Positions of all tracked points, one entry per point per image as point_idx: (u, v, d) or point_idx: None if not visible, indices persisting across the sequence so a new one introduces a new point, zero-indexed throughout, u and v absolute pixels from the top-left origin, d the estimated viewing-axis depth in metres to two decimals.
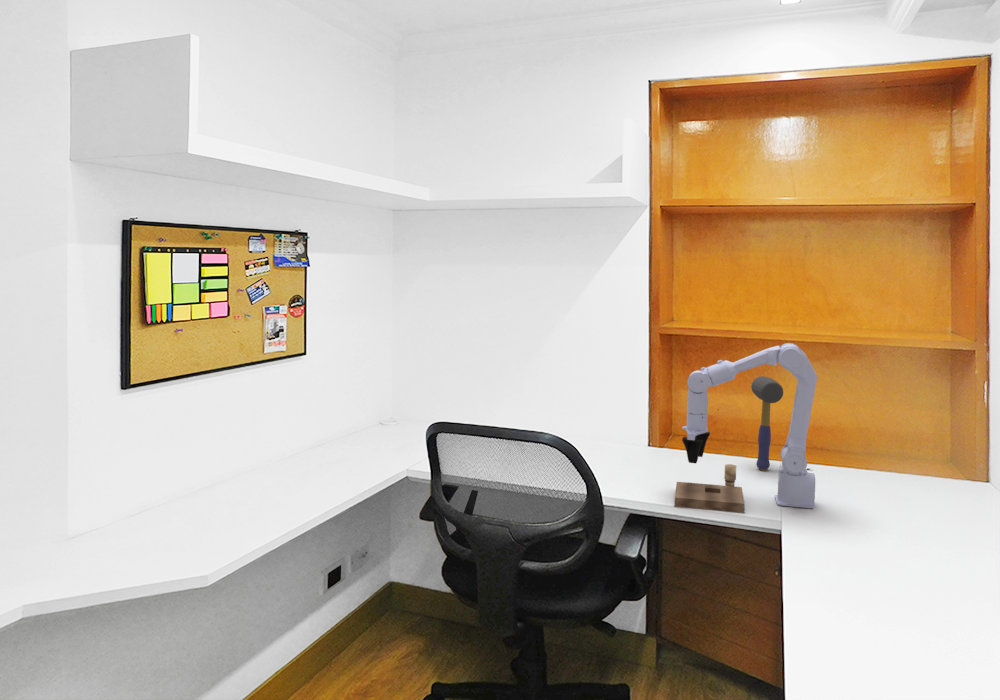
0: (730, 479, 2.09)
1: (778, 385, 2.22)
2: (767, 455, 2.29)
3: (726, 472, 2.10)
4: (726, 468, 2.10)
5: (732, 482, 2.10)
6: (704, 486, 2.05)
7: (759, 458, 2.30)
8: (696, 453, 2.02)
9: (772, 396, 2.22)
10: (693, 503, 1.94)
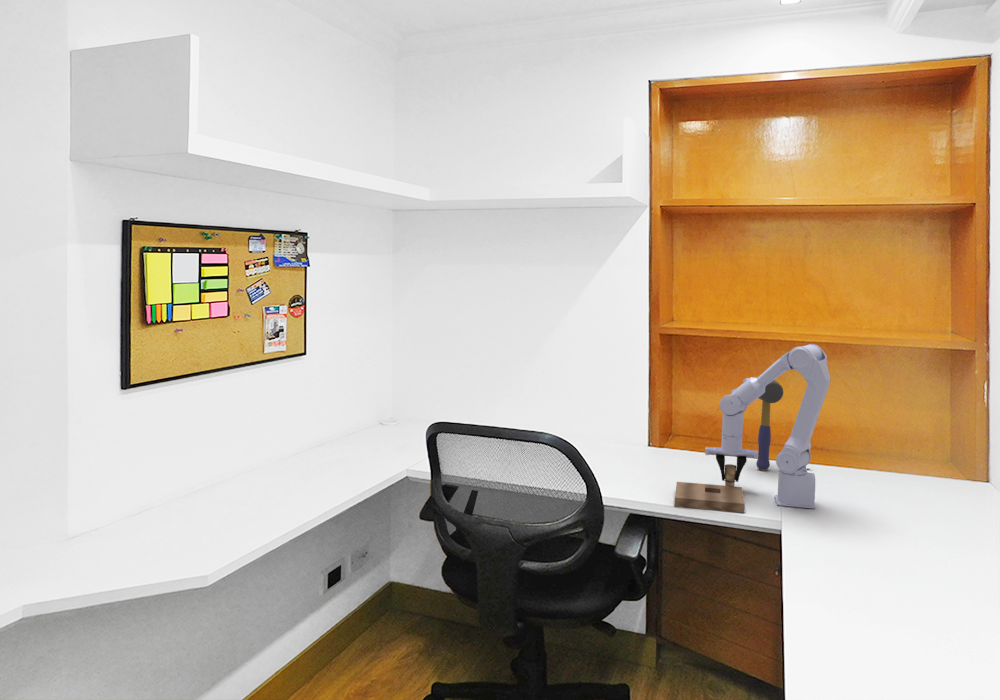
0: (730, 479, 2.09)
1: (778, 385, 2.22)
2: (767, 455, 2.29)
3: (726, 472, 2.10)
4: (726, 468, 2.10)
5: (732, 482, 2.10)
6: (704, 486, 2.05)
7: (759, 458, 2.30)
8: None
9: (772, 396, 2.22)
10: (693, 503, 1.94)
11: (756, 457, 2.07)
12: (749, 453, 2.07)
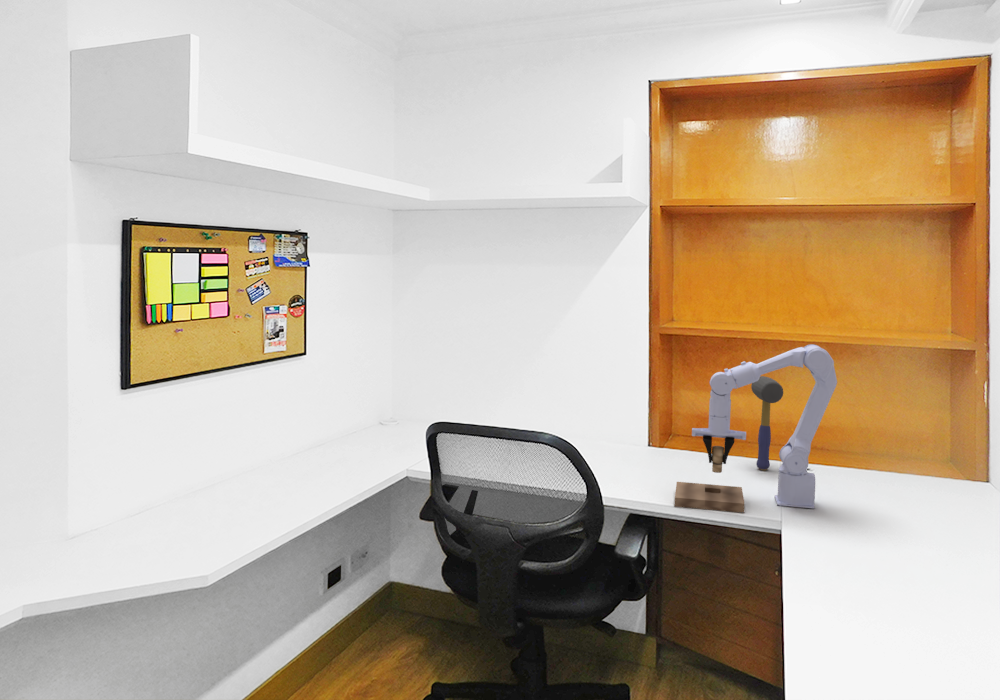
0: (717, 460, 2.02)
1: (778, 385, 2.22)
2: (767, 455, 2.29)
3: (713, 454, 2.02)
4: (713, 449, 2.02)
5: (719, 464, 2.02)
6: (704, 486, 2.05)
7: (759, 458, 2.30)
8: None
9: (772, 396, 2.22)
10: (693, 503, 1.94)
11: (744, 438, 1.99)
12: (737, 434, 1.99)
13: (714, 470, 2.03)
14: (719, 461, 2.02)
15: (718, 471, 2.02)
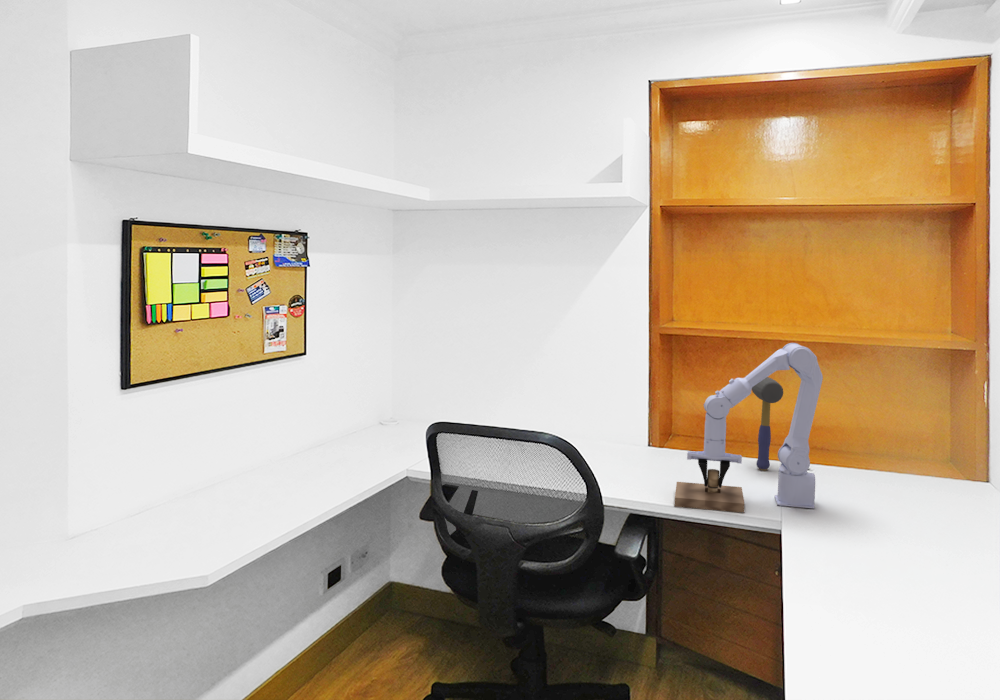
0: (712, 484, 2.00)
1: (778, 385, 2.22)
2: (767, 455, 2.29)
3: (708, 477, 2.01)
4: (708, 473, 2.01)
5: (715, 488, 2.01)
6: (704, 486, 2.05)
7: (759, 458, 2.30)
8: None
9: (772, 396, 2.22)
10: (693, 503, 1.94)
11: (740, 462, 1.98)
12: (732, 457, 1.98)
13: None
14: (714, 485, 2.00)
15: None
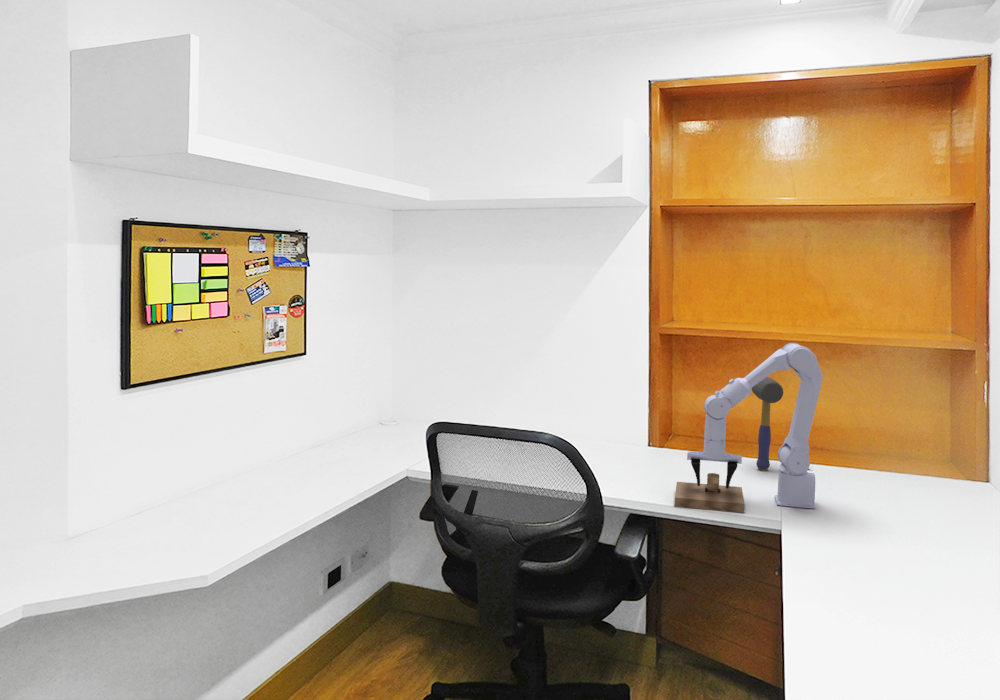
0: (712, 488, 2.00)
1: (778, 385, 2.22)
2: (767, 455, 2.29)
3: (708, 481, 2.01)
4: (708, 477, 2.01)
5: (715, 492, 2.01)
6: (704, 486, 2.05)
7: (759, 458, 2.30)
8: None
9: (772, 396, 2.22)
10: (693, 503, 1.94)
11: (740, 462, 1.98)
12: (733, 458, 1.98)
13: None
14: (714, 489, 2.00)
15: None
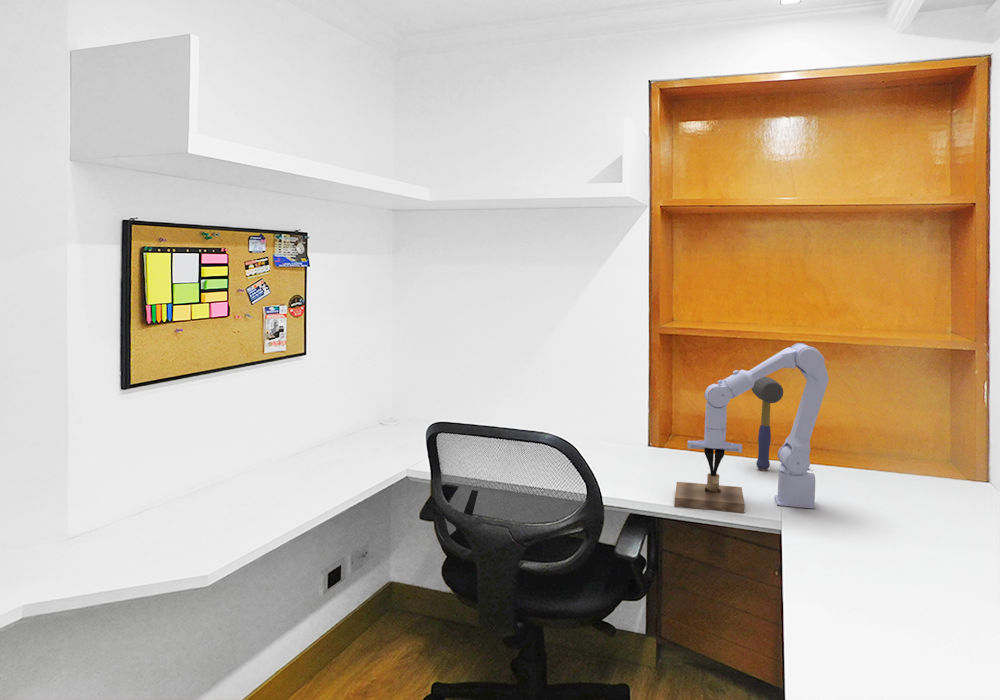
0: (712, 488, 2.00)
1: (778, 385, 2.22)
2: (767, 455, 2.29)
3: (708, 481, 2.01)
4: (708, 477, 2.01)
5: (715, 492, 2.01)
6: (704, 486, 2.05)
7: (759, 458, 2.30)
8: None
9: (772, 396, 2.22)
10: (693, 503, 1.94)
11: (740, 451, 1.98)
12: (733, 446, 1.98)
13: None
14: (714, 489, 2.00)
15: None
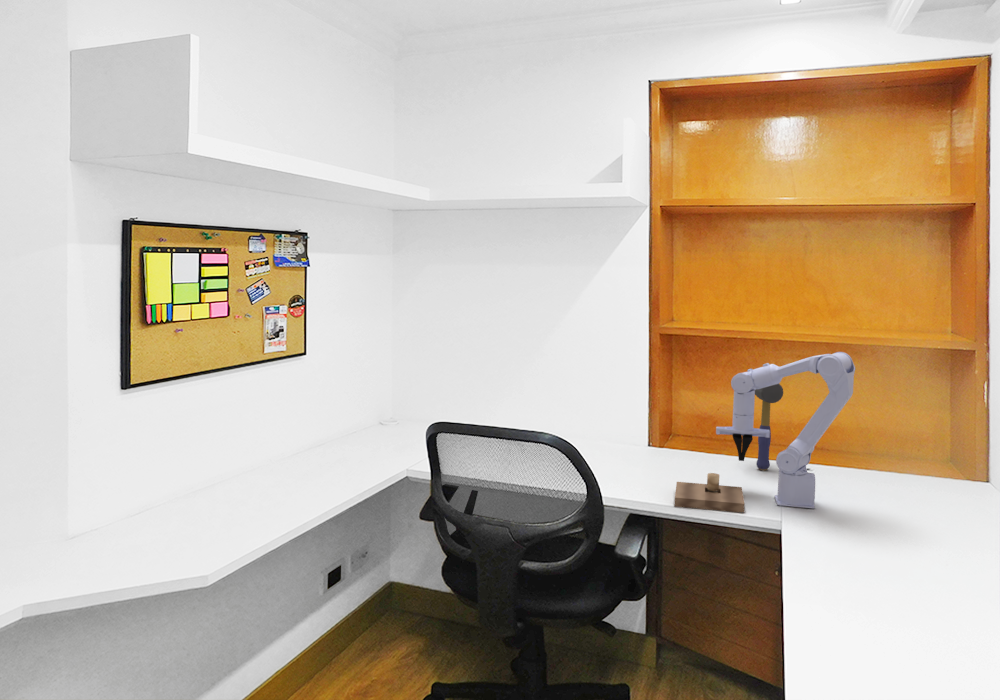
0: (712, 488, 2.00)
1: (778, 385, 2.22)
2: (767, 455, 2.29)
3: (708, 481, 2.01)
4: (708, 477, 2.01)
5: (715, 492, 2.01)
6: (704, 486, 2.05)
7: (759, 458, 2.30)
8: None
9: (772, 396, 2.22)
10: (693, 503, 1.94)
11: (768, 436, 2.04)
12: (761, 432, 2.04)
13: None
14: (714, 489, 2.00)
15: None
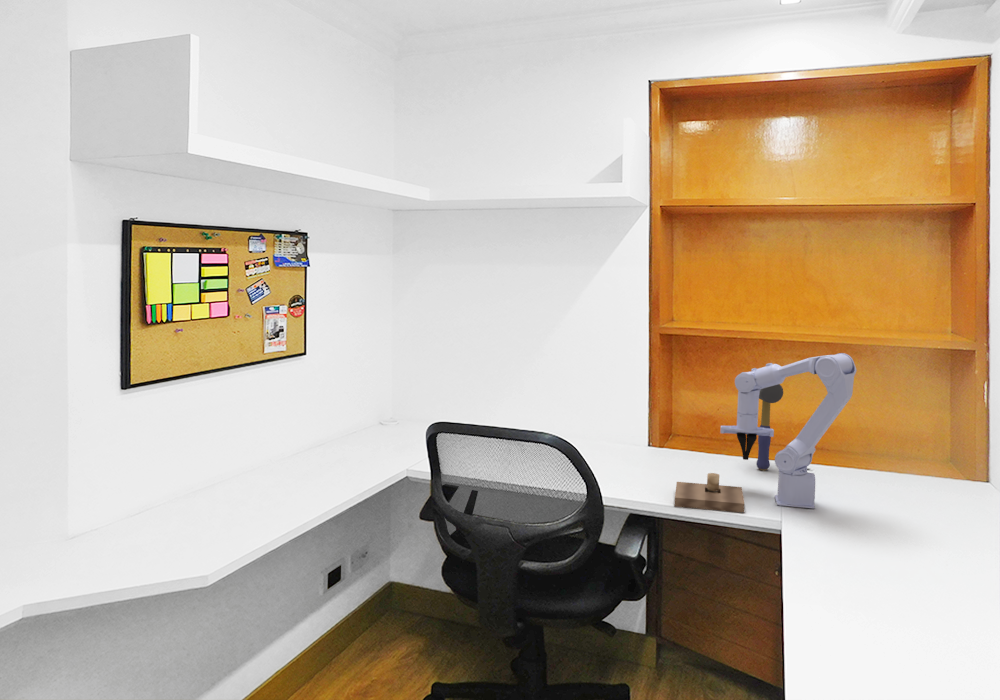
0: (712, 488, 2.00)
1: (778, 385, 2.22)
2: (767, 455, 2.29)
3: (708, 481, 2.01)
4: (708, 477, 2.01)
5: (715, 492, 2.01)
6: (704, 486, 2.05)
7: (759, 458, 2.30)
8: None
9: (772, 396, 2.22)
10: (693, 503, 1.94)
11: (772, 435, 2.05)
12: (765, 431, 2.05)
13: None
14: (714, 489, 2.00)
15: None
